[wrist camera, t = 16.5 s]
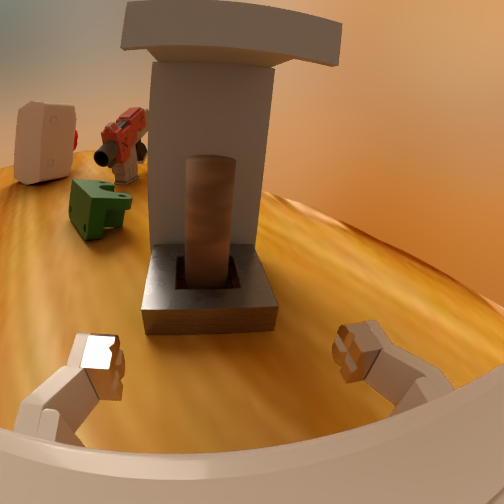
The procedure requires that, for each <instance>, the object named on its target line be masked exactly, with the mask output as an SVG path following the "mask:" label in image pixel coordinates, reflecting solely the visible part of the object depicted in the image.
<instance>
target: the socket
mask: <svg viewBox="0 0 504 504" xmlns="http://www.w3.org/2000/svg"><path fill="white" fill-rule="evenodd" d="M227 278H231V280H232V285H233V289H185V290H177V281H178V279H185V244H154V245H153V250H152V255H151V260H150V264H149V269H148V275H147V280H146V285H145V291H144V296H143V302H142V308H141V311H142V317H143V323H144V329H145V334H146V335H181V334H219V333H241V332H258V331H272V330H274V327H275V322H276V317H277V312H278V304H277V301H276V299H275V296H274V294H273V291H272V289H271V287H270V284H269V282H268V279H267V277H266V274H265V272H264V270H263V267H262V265H261V262H260V260H259V257H258V255H257V253H256V250H255V248H254V245H253V244H230V246H229V261H228V276H227Z"/></svg>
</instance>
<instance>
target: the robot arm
mask: <svg viewBox="0 0 504 504" xmlns="http://www.w3.org/2000/svg"><path fill="white" fill-rule="evenodd" d="M337 333H338V335H339V336H338V337H337V338H336V339H335V340H334V342H333V345H332V355H333V359H334V361H335V363H336V364H338V365H340V366H341V369H340V373H341V375H342V377H343V379H344V381H345V382H346V384H347V383H352V382H358V381H362V380H364V381H365V382H366V383H367V384H368V385H370V386H371V387H372V388H374V389H375V390H376V391H377V392H379V393H380V394H381V395H383V396H384V397H385V398H386V399H388V400H389V401H390V402H392V403H393V404H394V405H396V407H395V408H394V410H393V411H392V412H391V414H390V417H388V418H385V419H382V420H379V421H376V422H373V423H370V424H367V425H364V426H360V427H357V428H354V429H350V430H346V431H343V432H339V433H335V434H331V435H327V436H323V437H319V438H314V439H309V440H305V441H300V442H294V443H289V444H283V445H277V446H271V447H264V448H257V449H248V450H239V451H229V452H216V453H196V454H151V453H132V452H120V451H109V450H101V449H93V448H86V447H85V446H84V445H83V443H82V442H81V441H80V440H79V438H78V437H77V436H76V435H75V432H76V431H77V429H78V428H79V427H80V425H81V424H82V423H83V422H84V420H85V419H86V418H87V416H88V415H89V414H90V413H91V411H92V410H93V409H94V407H95V406H96V405H97V404H98V402H99V400H110V401H121V400H122V391H123V384H122V382H121V379H122V378H123V377H124V374H125V359H124V354H123V351H122V350H121V349H119V348H120V340H119V336H118V335H110V334H96V333H81V332H79V333H78V334H77V335H76V337H75V340H74V343H73V346H72V349H71V352H70V355H69V358H68V361H67V365H66V366H62V367H61V368H60V369H58V370H57V371H56V372H55V373H54V374H53V375H51V376H50V377H49V378H48V379H47V380H46V381H44V382H43V383H42V384H41V385H40V386H39V387H38V388H36V389H35V390H34V391H33V392H32V393H31V394H30V395H28V396H27V397H26V398H25V399H24V400H23V401H22V402H21V404H20V408H19V411H18V415H17V418H16V422H15V426H14V429H13V431H10V430H7V429H4V428H1V427H0V504H504V364H502V365H499V366H497V367H496V368H494V369H492V370H491V371H489V372H487V373H486V374H484V375H482V376H480V377H478V378H477V379H475V380H473V381H471V382H469V383H467V384H465V385H463V386H461V387H459V388H457V389H454V388H453V386H452V385H451V384H450V382H449V381H448V379H447V378H446V377H445V375H444V374H443V372H442V371H441V370H440V369H439V368H437V367H435V366H433V365H431V364H429V363H428V362H426V361H424V360H422V359H420V358H418V357H417V356H415V355H413V354H411V353H409V352H407V351H406V350H404V349H402V348H400V347H398V346H394V345H393V344H392V342H391V341H390V339H389V338H388V337H387V335H386V334H385V332H384V331H383V330H382V328H381V327H380V326H379V324H378V323H377V322H376V321H375V320H371V321H365V322H358V323H351V324H344V325H341V326H340V327H339V329H338V331H337Z"/></svg>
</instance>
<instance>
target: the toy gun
mask: <svg viewBox="0 0 504 504" xmlns="http://www.w3.org/2000/svg"><path fill="white" fill-rule="evenodd" d="M148 123H149V111H148V109H141V108H140V107H134V108H129V109H128V110H127V111H125V112H124V113H123V114H122V115H120V116H119V118H118V119H117V120H116V123H115V122H110V123H109V124H107V125H106V126H105V129H104V131H103V132H101V136H102V141H103V145H102V146H101V147H100V148H99V149H98V150H97V151H96V152H95V154H94V160H95V162H96V163H97V164H98V165H99V166H102V167H105V166H108V167H109V168H112V172H113V174H115V182H114V184H121V185H127V184H129V183H130V182H132V181H134V180H135V179H137V178H139V176H137V173H138V165H137V162H138V164H143V163H144V161H145V159H146V156H147V154H148V152H147V149H146V146H145V145H144V144H143V143H142V142H141V138H142V137H143V135H144V134H145V133H146V132H147V131H148Z"/></svg>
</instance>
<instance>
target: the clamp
mask: <svg viewBox="0 0 504 504" xmlns="http://www.w3.org/2000/svg"><path fill="white" fill-rule="evenodd" d="M114 188H115V185H113V184H111V183H110V182H106V181H98V180H78V179H72V185H71V193H70V201H69V218H70V219H71V221H72V223H73V224H74V225H75V227H76V228H77V230H78V231H79V233H80V234H81V236H82V237H83V239H84V240H91V239H101V238H102V235H103V229H104V227H122V226H123V219H124V212H125V210H129V209H131V204H132V198H133V197H132V196H130V195H129V194H127V193H117V192H114Z"/></svg>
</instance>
